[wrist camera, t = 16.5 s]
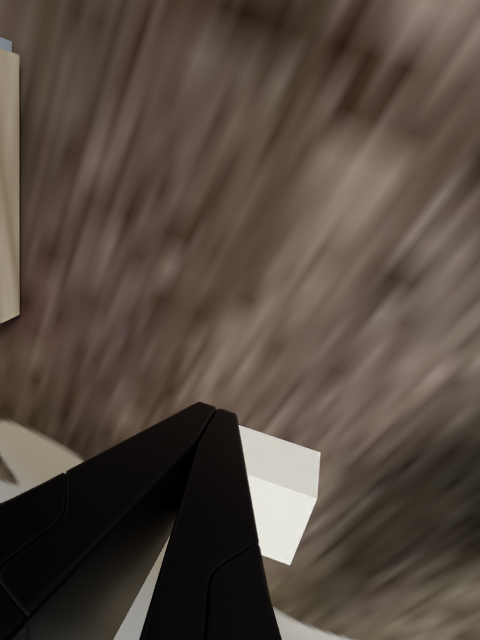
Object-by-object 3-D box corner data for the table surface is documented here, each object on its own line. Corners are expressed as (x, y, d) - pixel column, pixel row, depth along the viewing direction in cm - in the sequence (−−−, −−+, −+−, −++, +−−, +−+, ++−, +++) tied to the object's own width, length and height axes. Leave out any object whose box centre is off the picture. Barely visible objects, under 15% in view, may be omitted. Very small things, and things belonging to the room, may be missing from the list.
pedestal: (320, 452, 23) (316, 498, 20) (296, 514, 25) (290, 565, 22) (236, 424, 24) (220, 465, 21) (219, 486, 26) (202, 532, 23)
